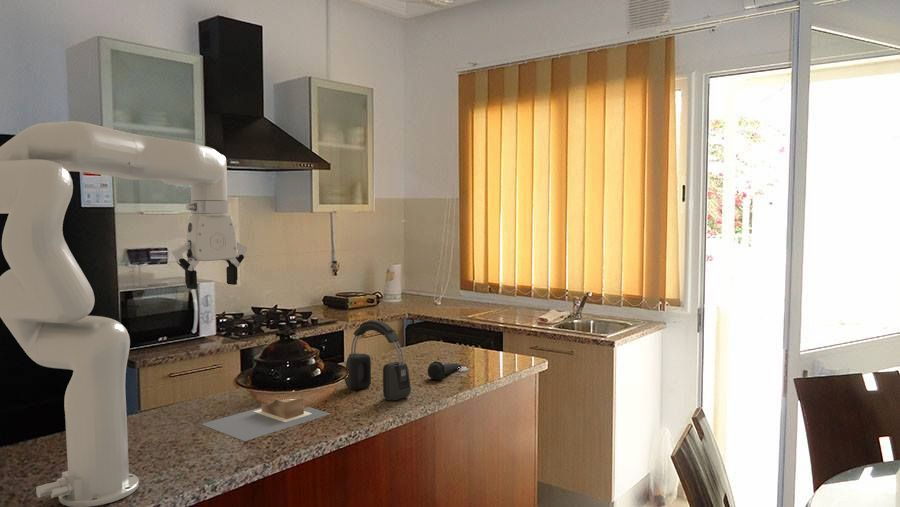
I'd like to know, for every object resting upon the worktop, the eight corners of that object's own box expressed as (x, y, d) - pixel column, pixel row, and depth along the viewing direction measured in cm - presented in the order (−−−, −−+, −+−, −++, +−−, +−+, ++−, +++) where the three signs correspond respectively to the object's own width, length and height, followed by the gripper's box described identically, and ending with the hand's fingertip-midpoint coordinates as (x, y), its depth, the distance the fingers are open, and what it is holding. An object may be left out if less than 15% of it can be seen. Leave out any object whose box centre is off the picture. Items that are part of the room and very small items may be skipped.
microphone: (455, 376, 208) (426, 383, 190) (451, 358, 209) (422, 364, 191) (470, 372, 205) (442, 379, 187) (466, 354, 206) (438, 360, 188)
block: (261, 411, 160) (261, 394, 160) (278, 406, 164) (278, 390, 164) (286, 419, 154) (286, 402, 153) (303, 413, 157) (303, 397, 157)
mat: (244, 443, 139) (244, 440, 139) (200, 426, 151) (200, 423, 151) (331, 416, 158) (331, 413, 158) (286, 402, 169) (286, 400, 169)
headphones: (342, 388, 183) (341, 318, 182) (359, 383, 188) (358, 315, 186) (396, 403, 168) (395, 327, 167) (413, 398, 173) (412, 324, 171)
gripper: (181, 209, 134) (183, 291, 135) (253, 209, 147) (255, 284, 148) (163, 209, 139) (166, 289, 140) (235, 209, 152) (237, 281, 153)
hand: (212, 286), depth 144 cm, fingers open, 9 cm apart
